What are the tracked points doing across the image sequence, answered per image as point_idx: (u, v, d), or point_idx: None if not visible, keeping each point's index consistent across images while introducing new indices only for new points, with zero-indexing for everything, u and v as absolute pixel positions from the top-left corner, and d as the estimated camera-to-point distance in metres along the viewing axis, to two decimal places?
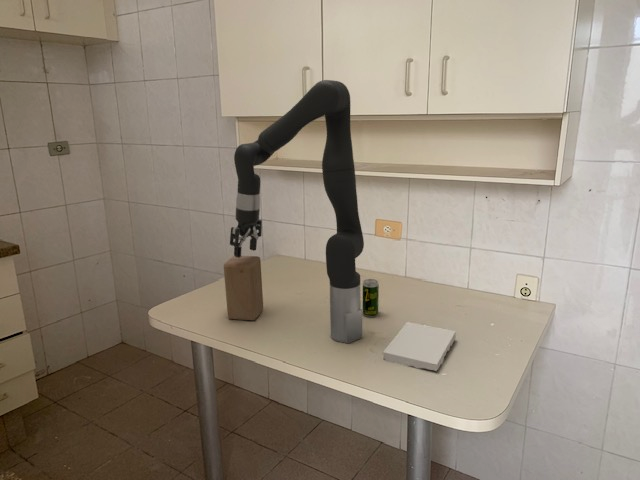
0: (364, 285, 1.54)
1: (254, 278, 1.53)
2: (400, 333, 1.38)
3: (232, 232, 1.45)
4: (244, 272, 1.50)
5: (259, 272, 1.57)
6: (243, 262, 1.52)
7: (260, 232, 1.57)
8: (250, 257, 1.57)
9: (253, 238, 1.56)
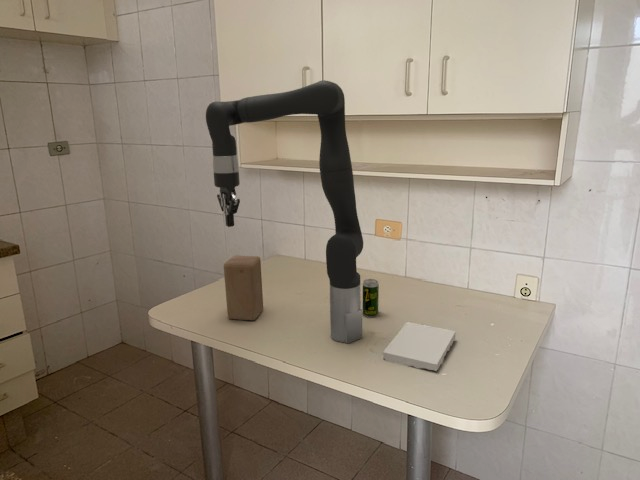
0: (364, 285, 1.54)
1: (254, 278, 1.53)
2: (400, 333, 1.38)
3: (233, 204, 1.38)
4: (244, 272, 1.50)
5: (259, 272, 1.57)
6: (243, 262, 1.52)
7: None
8: (250, 257, 1.57)
9: None
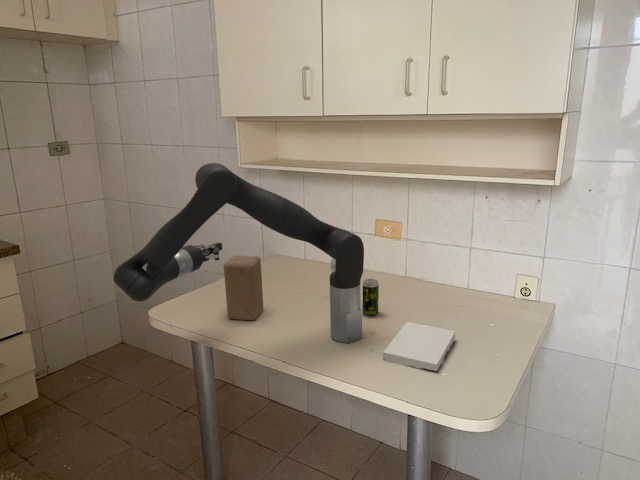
0: (364, 285, 1.54)
1: (254, 278, 1.53)
2: (400, 333, 1.38)
3: None
4: (244, 272, 1.50)
5: (259, 272, 1.57)
6: (243, 262, 1.52)
7: (199, 245, 1.40)
8: (250, 257, 1.57)
9: None
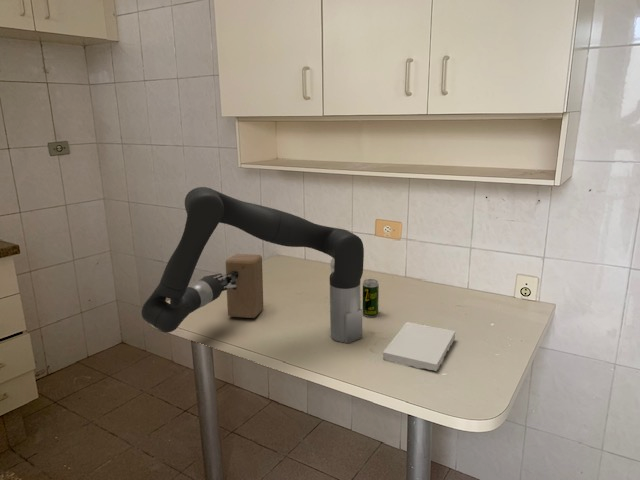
0: (364, 285, 1.54)
1: (256, 274, 1.54)
2: (400, 333, 1.38)
3: None
4: (246, 268, 1.52)
5: (260, 270, 1.59)
6: (245, 258, 1.54)
7: (217, 274, 1.49)
8: (252, 255, 1.59)
9: None
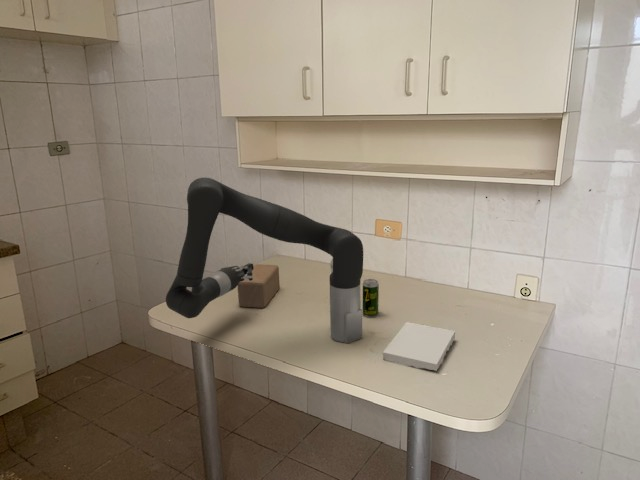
0: (364, 285, 1.54)
1: (275, 275, 1.76)
2: (400, 333, 1.38)
3: None
4: (271, 266, 1.78)
5: (276, 286, 1.78)
6: None
7: (233, 266, 1.56)
8: None
9: None
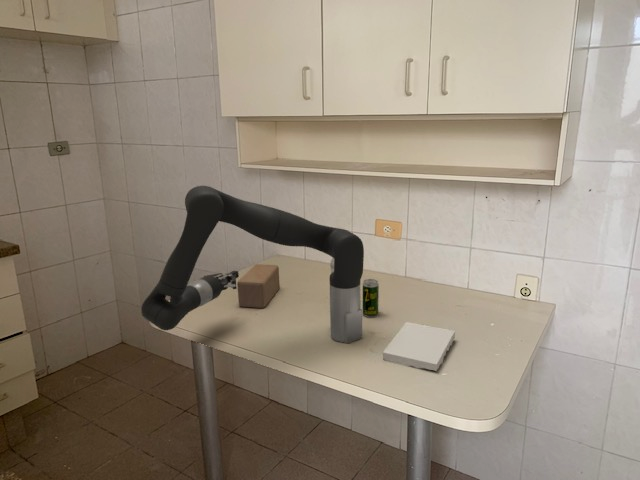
0: (364, 285, 1.54)
1: (275, 275, 1.76)
2: (399, 333, 1.38)
3: None
4: (271, 266, 1.78)
5: (276, 286, 1.78)
6: None
7: (217, 274, 1.49)
8: None
9: None
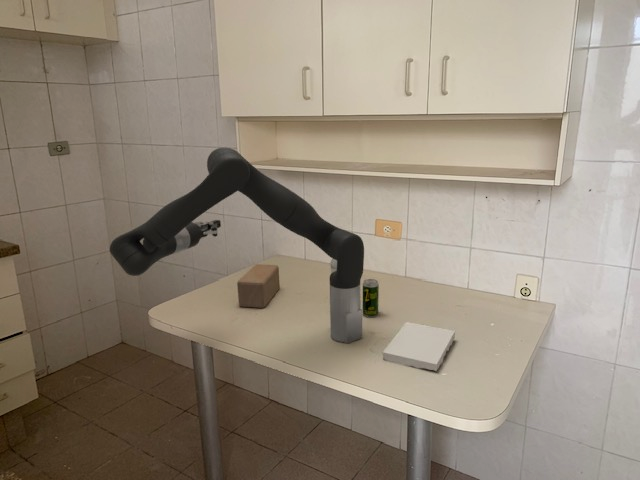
0: (364, 285, 1.54)
1: (275, 275, 1.76)
2: (399, 333, 1.38)
3: None
4: (271, 266, 1.78)
5: (276, 286, 1.78)
6: None
7: (197, 222, 1.38)
8: None
9: None
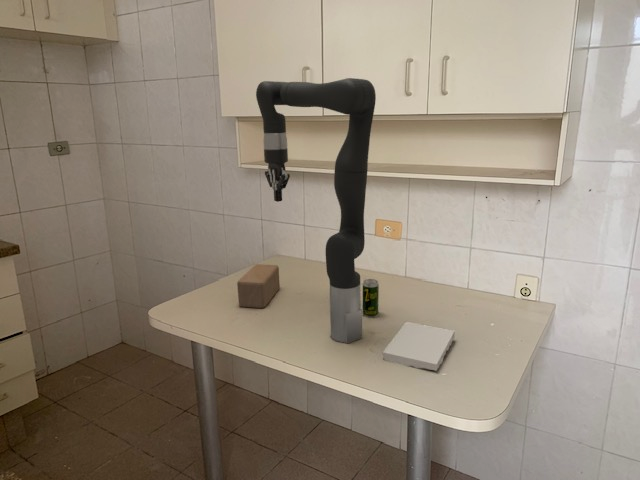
0: (364, 285, 1.54)
1: (275, 275, 1.76)
2: (399, 333, 1.38)
3: (284, 179, 1.46)
4: (271, 266, 1.78)
5: (276, 286, 1.78)
6: None
7: None
8: None
9: None
